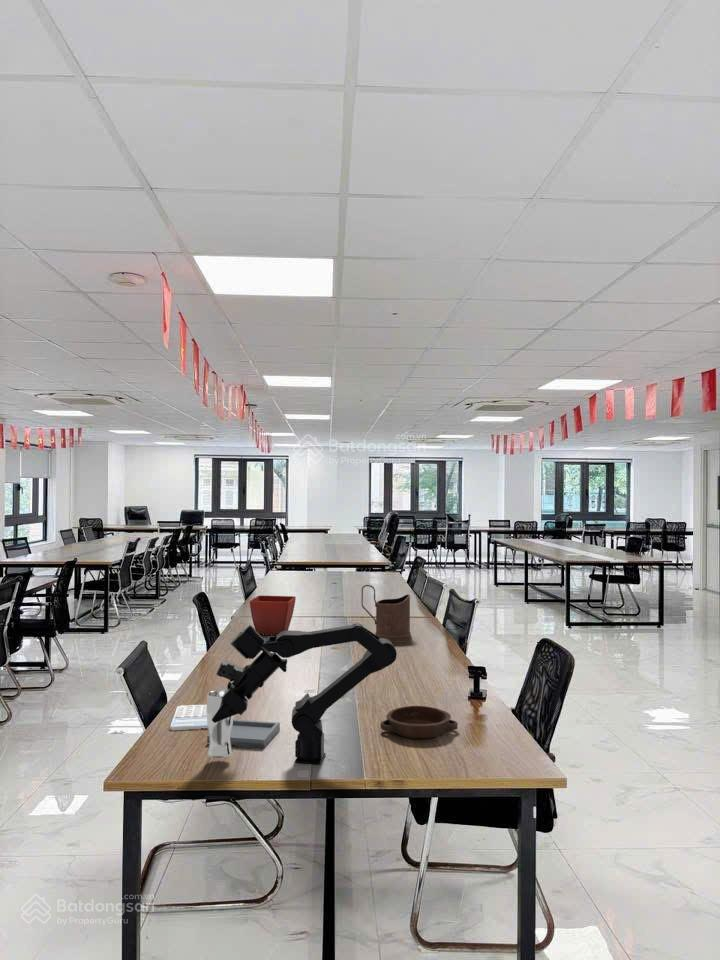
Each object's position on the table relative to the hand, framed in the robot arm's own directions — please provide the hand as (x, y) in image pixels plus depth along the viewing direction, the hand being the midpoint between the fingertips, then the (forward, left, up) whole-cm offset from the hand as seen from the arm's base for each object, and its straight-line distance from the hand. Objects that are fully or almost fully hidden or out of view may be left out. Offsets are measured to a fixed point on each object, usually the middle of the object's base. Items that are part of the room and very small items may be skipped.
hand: (214, 716), depth 174 cm
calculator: (+18, -31, -12) cm, 38 cm away
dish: (-48, -32, -12) cm, 59 cm away
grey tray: (-1, -18, -11) cm, 22 cm away
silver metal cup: (-1, 0, -9) cm, 10 cm away
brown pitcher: (-21, -156, -11) cm, 158 cm away
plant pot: (+35, -157, -12) cm, 162 cm away
